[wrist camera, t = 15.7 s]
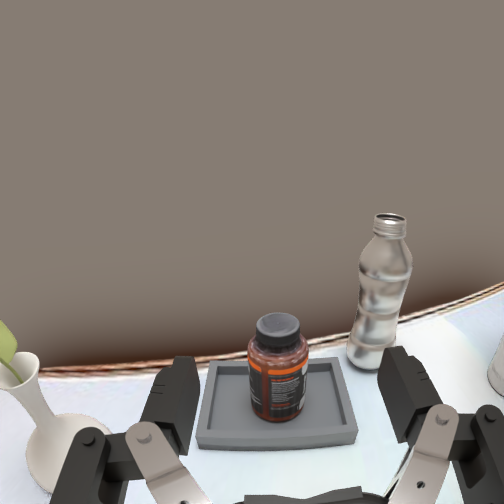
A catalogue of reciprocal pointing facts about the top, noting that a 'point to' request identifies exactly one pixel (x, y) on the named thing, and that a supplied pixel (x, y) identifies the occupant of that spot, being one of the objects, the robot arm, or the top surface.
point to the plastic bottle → (380, 291)
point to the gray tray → (270, 432)
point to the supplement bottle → (277, 367)
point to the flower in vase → (39, 413)
